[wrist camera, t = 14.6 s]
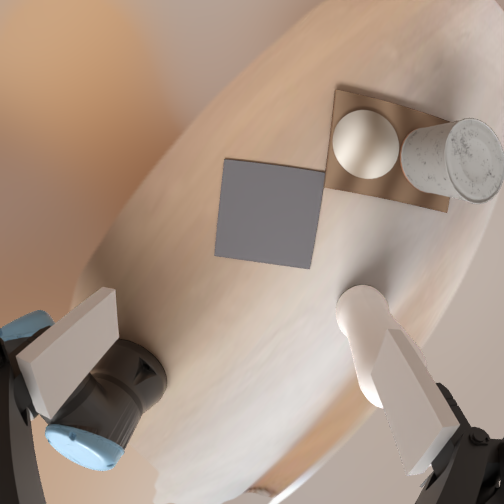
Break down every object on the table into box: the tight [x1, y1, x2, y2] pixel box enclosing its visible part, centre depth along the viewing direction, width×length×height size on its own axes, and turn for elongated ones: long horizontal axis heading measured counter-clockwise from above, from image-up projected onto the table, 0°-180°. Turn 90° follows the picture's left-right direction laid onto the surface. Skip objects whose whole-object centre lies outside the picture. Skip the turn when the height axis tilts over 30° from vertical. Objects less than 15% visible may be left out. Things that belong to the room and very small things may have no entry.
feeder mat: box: [214, 159, 325, 269], centre depth 43 cm, size 14×14×1 cm
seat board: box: [323, 90, 450, 213], centre depth 38 cm, size 20×14×2 cm
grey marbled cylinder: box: [401, 118, 504, 204], centre depth 31 cm, size 10×10×12 cm
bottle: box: [336, 285, 432, 466], centre depth 31 cm, size 8×8×30 cm
